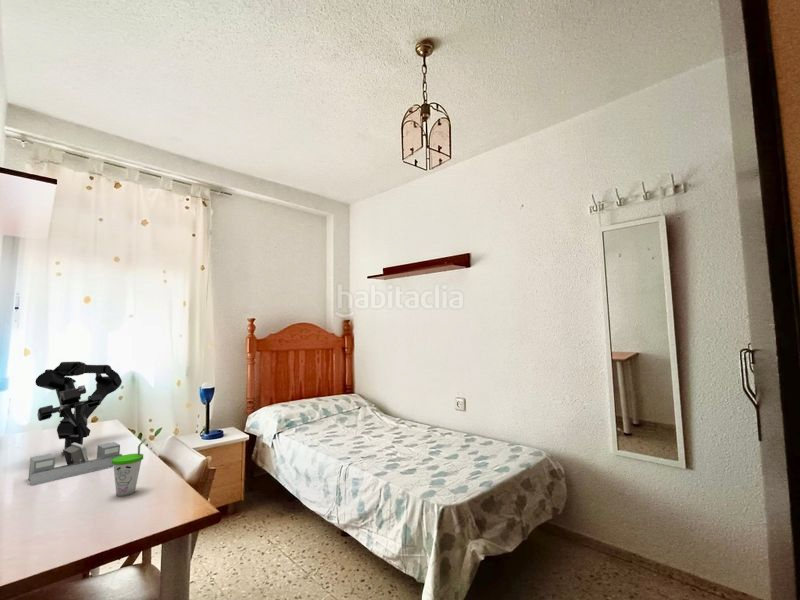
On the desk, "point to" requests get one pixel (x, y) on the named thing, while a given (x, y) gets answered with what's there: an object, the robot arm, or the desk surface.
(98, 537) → the desk surface
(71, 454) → the electrical switch
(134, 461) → the cup
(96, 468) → the rail
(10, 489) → the desk surface
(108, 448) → the mounted modules
